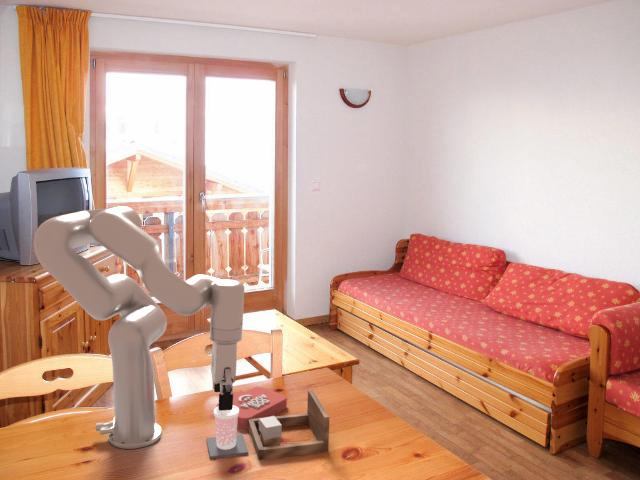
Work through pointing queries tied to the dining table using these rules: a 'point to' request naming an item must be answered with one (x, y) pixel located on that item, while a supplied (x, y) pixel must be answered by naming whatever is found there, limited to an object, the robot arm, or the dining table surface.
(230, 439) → the beverage cup
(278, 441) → the block
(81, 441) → the dining table surface
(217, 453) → the coaster
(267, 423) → the offcut top
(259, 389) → the plaque
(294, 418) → the rack
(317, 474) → the dining table surface
